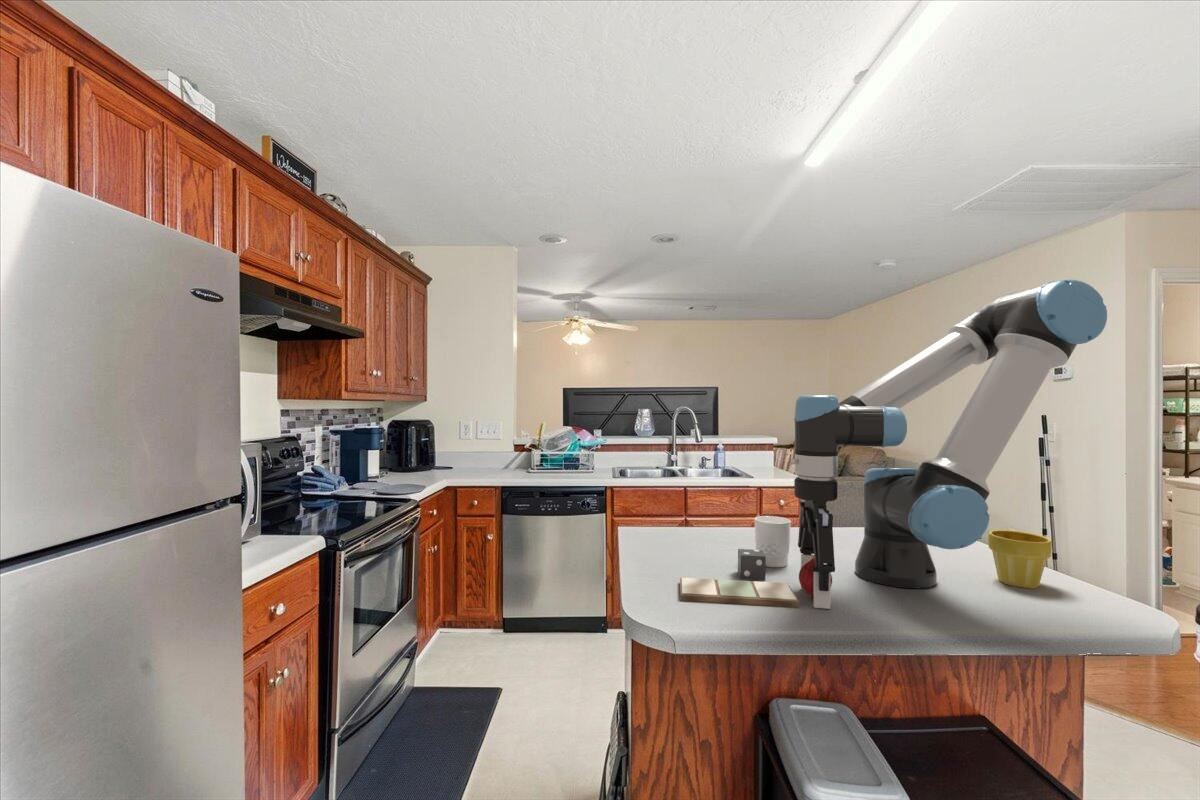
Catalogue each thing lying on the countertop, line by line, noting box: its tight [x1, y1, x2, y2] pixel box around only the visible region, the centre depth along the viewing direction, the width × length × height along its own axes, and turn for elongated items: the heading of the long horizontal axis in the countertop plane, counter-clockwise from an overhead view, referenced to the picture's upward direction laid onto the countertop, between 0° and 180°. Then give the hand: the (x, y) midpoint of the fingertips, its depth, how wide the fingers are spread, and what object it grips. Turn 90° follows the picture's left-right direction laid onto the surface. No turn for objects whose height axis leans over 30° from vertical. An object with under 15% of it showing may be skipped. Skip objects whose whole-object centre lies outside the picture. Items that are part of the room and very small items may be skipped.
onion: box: [798, 556, 833, 599], centre depth 101 cm, size 6×6×8 cm
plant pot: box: [987, 529, 1053, 589], centre depth 111 cm, size 10×10×10 cm
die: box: [737, 548, 767, 581], centre depth 115 cm, size 5×5×5 cm
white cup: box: [754, 515, 792, 568], centre depth 124 cm, size 8×8×10 cm
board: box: [679, 577, 800, 608], centre depth 103 cm, size 21×10×1 cm, turn 82°
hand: (814, 597), depth 101 cm, fingers open, 9 cm apart
